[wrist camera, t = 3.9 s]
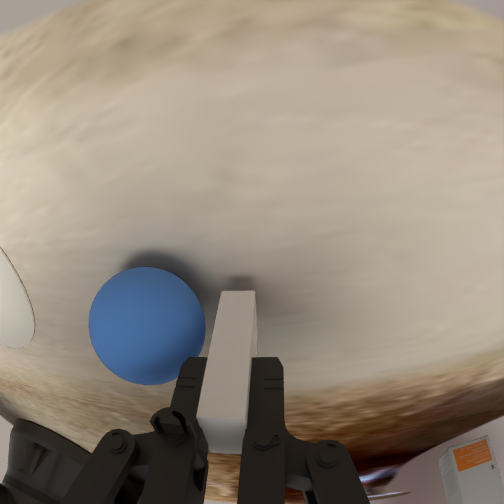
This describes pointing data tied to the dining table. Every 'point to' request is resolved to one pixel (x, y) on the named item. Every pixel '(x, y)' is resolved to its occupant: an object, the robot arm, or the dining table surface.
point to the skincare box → (471, 474)
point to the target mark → (14, 308)
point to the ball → (146, 325)
